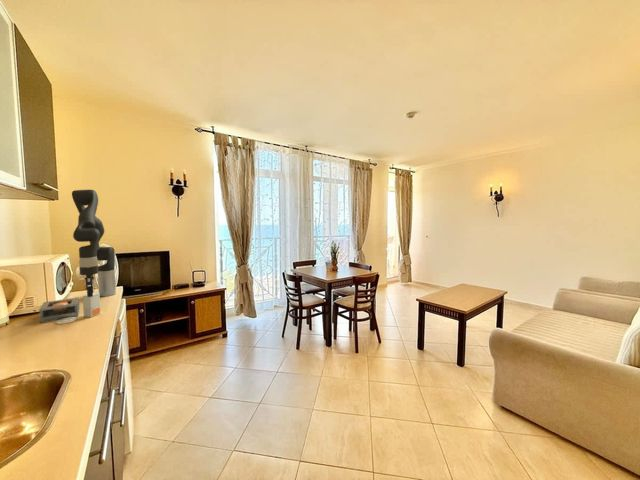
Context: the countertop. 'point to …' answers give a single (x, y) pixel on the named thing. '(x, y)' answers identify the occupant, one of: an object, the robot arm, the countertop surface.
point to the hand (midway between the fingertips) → (90, 294)
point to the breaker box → (51, 315)
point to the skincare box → (91, 305)
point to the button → (60, 308)
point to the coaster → (66, 320)
